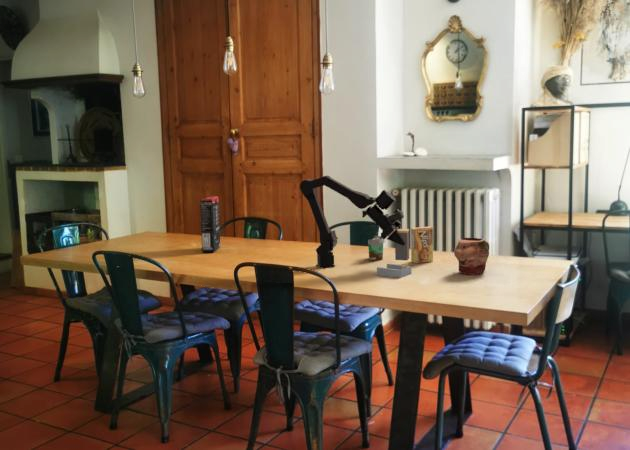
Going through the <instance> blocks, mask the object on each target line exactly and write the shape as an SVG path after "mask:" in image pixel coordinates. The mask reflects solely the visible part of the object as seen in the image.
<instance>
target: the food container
mask: <svg viewBox="0 0 630 450" xmlns="http://www.w3.org/2000/svg"><path fill="white" fill-rule="evenodd" d="M385 242H386V240H385V239H383V238H382V237H381V235H374V236H373V237H372V238H371V239H368V240H367V245H368V262H380V261H383V258H384V256H383V255H384V243H385Z"/></svg>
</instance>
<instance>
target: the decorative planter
mask: <svg viewBox="0 0 630 450" xmlns="http://www.w3.org/2000/svg"><path fill="white" fill-rule="evenodd" d="M453 253H454V257H455V258H456V259H457V261H458V272H459V273H461V274H464V275H474V276H475V275H482V274H484V273H485V271H486V267H487V262H488V258H489V255H490V243H489V242H488V241H486V239H484V238H482V237H481V238H480V237H479V238H478V237H461V238H460V239H458V241H457V245H456V247H455V248H454V250H453Z"/></svg>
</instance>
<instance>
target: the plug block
mask: <svg viewBox="0 0 630 450" xmlns="http://www.w3.org/2000/svg"><path fill="white" fill-rule="evenodd" d="M398 234H399V236H400V237H401V239H402V240H403V241H404V243H405V245H404V246H403V245H401V244H398V243H396V242H394V243H395V244H394V247H395V249H394V251H395V252H394V253H395V259H394V260H395V261H408V260H409V259H410V229H409V228H401V229H398Z"/></svg>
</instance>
